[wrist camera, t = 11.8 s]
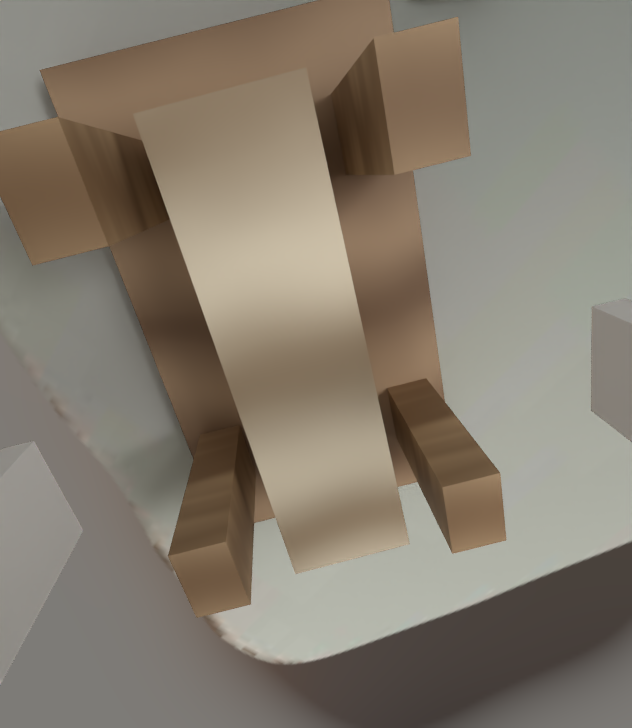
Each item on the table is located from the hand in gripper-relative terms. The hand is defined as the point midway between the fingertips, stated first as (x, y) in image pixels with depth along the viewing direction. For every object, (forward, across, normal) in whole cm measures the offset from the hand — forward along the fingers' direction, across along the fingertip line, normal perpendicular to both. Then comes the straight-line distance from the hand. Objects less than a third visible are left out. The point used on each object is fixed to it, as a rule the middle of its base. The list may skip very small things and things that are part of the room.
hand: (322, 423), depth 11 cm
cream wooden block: (+11, -1, 0) cm, 11 cm away
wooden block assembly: (+12, -1, 0) cm, 12 cm away
